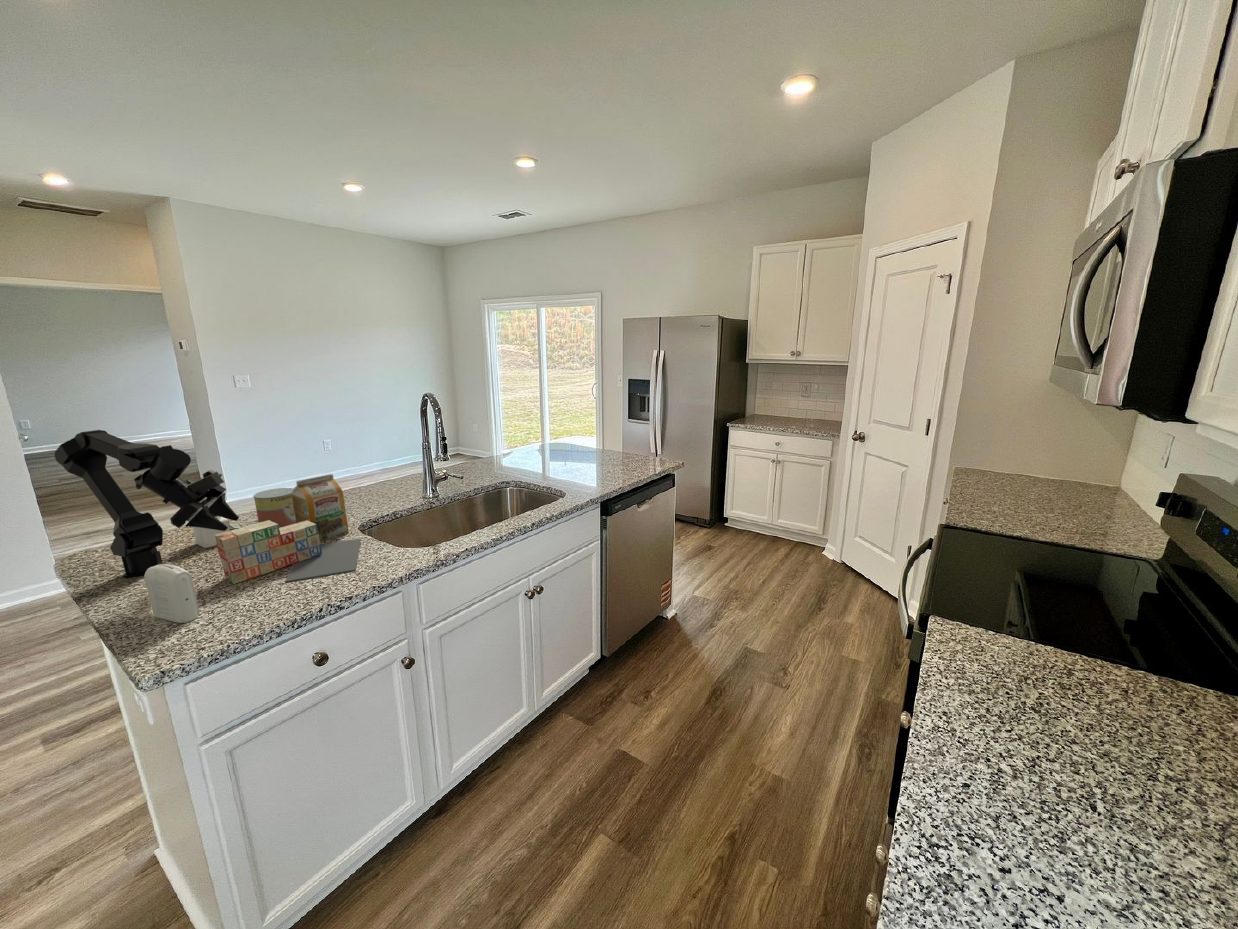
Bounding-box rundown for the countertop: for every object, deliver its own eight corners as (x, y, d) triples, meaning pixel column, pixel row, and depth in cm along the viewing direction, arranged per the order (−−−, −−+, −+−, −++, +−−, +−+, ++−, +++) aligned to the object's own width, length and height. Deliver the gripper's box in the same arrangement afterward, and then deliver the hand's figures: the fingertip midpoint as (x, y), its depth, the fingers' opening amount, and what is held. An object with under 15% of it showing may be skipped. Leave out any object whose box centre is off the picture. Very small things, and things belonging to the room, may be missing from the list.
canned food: (285, 533, 159) (279, 497, 156) (251, 533, 159) (244, 498, 156) (307, 521, 169) (302, 487, 167) (275, 521, 170) (269, 488, 167)
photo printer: (204, 615, 110) (192, 564, 107) (182, 625, 106) (170, 573, 103) (172, 608, 113) (160, 558, 110) (150, 618, 109) (137, 566, 106)
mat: (285, 582, 125) (285, 581, 125) (300, 548, 146) (300, 547, 146) (356, 570, 132) (355, 569, 132) (360, 539, 153) (360, 538, 153)
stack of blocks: (313, 549, 144) (305, 510, 141) (323, 554, 141) (315, 514, 137) (224, 578, 128) (213, 534, 125) (232, 584, 124) (221, 539, 121)
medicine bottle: (233, 541, 153) (225, 504, 150) (205, 548, 147) (196, 510, 144) (223, 536, 156) (216, 500, 153) (195, 543, 150) (187, 506, 148)
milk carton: (333, 526, 164) (324, 471, 160) (348, 533, 158) (340, 476, 154) (298, 536, 156) (288, 478, 152) (313, 543, 150) (304, 483, 146)
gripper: (176, 472, 114) (241, 512, 121) (210, 455, 131) (265, 491, 138) (141, 508, 114) (208, 546, 120) (180, 486, 131) (237, 521, 137)
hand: (232, 524), depth 129 cm, fingers open, 7 cm apart
